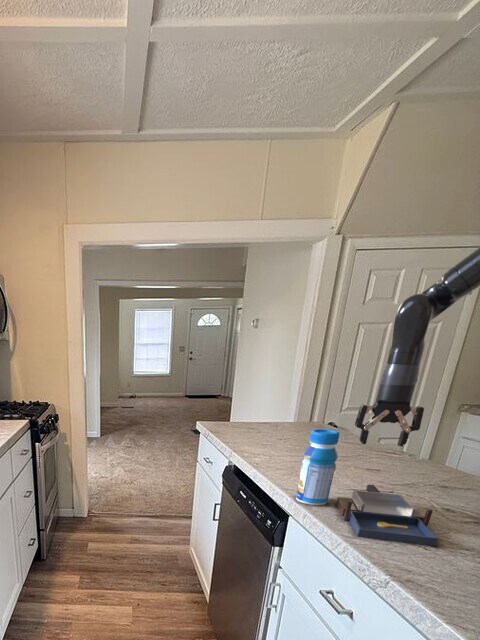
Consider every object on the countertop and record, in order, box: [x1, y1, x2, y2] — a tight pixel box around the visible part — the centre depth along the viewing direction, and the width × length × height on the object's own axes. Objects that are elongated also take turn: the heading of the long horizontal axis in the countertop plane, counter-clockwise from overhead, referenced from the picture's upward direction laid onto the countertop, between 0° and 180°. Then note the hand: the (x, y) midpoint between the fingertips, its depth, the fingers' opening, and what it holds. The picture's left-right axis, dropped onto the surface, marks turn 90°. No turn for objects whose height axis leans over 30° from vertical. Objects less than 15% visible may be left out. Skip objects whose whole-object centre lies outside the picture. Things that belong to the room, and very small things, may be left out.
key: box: [377, 522, 408, 529], centre depth 97 cm, size 6×3×1 cm, turn 69°
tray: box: [348, 511, 439, 547], centre depth 96 cm, size 15×12×2 cm
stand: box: [335, 496, 434, 528], centre depth 104 cm, size 17×13×5 cm
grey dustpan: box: [351, 484, 416, 518], centre depth 106 cm, size 11×18×2 cm, turn 159°
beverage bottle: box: [295, 428, 340, 506], centre depth 111 cm, size 8×8×20 cm
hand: (381, 444), depth 109 cm, fingers open, 8 cm apart
